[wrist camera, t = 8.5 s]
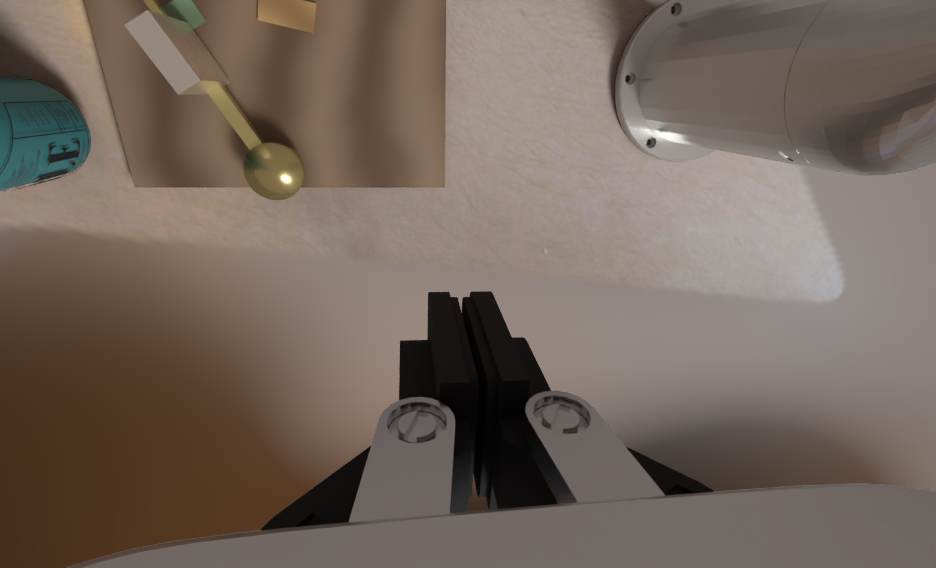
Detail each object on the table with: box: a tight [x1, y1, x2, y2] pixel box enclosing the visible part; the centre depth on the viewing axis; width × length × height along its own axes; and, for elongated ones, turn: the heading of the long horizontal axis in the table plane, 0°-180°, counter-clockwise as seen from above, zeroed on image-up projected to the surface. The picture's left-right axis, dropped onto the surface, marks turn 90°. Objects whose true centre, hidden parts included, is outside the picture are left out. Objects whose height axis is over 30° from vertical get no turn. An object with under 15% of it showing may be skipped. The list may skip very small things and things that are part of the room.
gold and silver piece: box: [124, 0, 305, 200], centre depth 28 cm, size 14×4×5 cm, turn 28°
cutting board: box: [84, 0, 446, 187], centre depth 31 cm, size 23×13×2 cm, turn 88°
